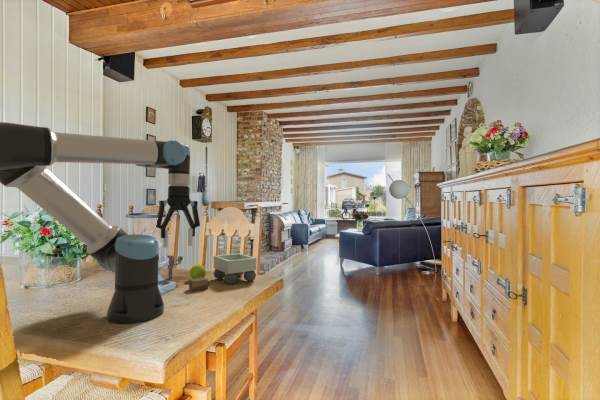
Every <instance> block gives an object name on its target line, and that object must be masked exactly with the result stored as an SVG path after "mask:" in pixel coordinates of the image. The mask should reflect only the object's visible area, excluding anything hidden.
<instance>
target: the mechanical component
mask: <svg viewBox="0 0 600 400" xmlns="http://www.w3.org/2000/svg"><path fill="white" fill-rule="evenodd" d="M167 257H168V258H169V265H167V267H166V268H167V269H168V274H167V275H168V278H167V279H168V280H172V279H173V269H174V267H175V266H178V265H180V264H181V263H182V261H183V258H184V257H183V256H181V255H179V256H178V257H177V259H176V257H175V255H168V254H167ZM176 262H177V263H176Z"/></svg>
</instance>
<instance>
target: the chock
mask: <svg viewBox="0 0 600 400" xmlns="http://www.w3.org/2000/svg"><path fill="white" fill-rule="evenodd" d="M188 290H189V291H191V292H192V293H193V292H194V293H195V292H199V291H200V292H201V291H204V290H205V291H206V290H209V279H208V278H206V277H205V276H204V277H203V278H196V279H192V278H191V279H189V280H188Z"/></svg>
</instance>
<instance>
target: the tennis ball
mask: <svg viewBox="0 0 600 400" xmlns="http://www.w3.org/2000/svg"><path fill="white" fill-rule="evenodd" d="M206 273H207V270H206V268H205V266H204V265H202V264H194V265H193V266H192V267H191V268H190V270H189V276H190V277H191V279H196V278H203V277H205V276H206Z"/></svg>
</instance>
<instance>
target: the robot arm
mask: <svg viewBox="0 0 600 400" xmlns="http://www.w3.org/2000/svg"><path fill="white" fill-rule="evenodd" d="M190 150H191V149H190V146H189V145H187V144H185V143H182V142H180V141H179V140H167V141H163V140H153V139H152V140H150V139H139V138H138V139H137V138H127V137H116V136H102V135H92V134H91V135H90V134H81V133H80V134H79V133H78V134H77V133H67V132H55V131H53V130H52V129H51V128H50V127H47V126H45V127H44V126H36V125H28V124H19V123H12V122H5V121H4V122H1V121H0V183H1V184H2V185H3V187H7V188H16V189H18V190H19V191H20V192H21V193H23V194H24V195H25V196H26V197H27V198H29V199H30V200H31V201H32V202H34V203H35V204H36V205H37V206H39V208H41V209H42V210H44V211H45V212H46V213H47V214H48V215H50V216H51V217H52V218H53V219H55V221H56V222H58V223H59V224H60V225H61V226H62V227H64V228H65V229H66V230H67V231H69V232H70V233H71V234H73V235H74V236H75V237H76V238H77V239H79V241H81V242H82V243H83V244H84V245H86V253H87V254H88V255H89V256H91V257H92V258H93V259H95V261H97V263H98V265H99V266H100V267H101V268H103V269H104V270H106V271H109V272H113V273H114V291H113V294H112V297H111V300H110V303H109V305H108V307H107V311H106V312H107V313H106V314H107V316H106V317H107V320H108V321H109V322H111V323H116V324H131V323H132V324H133V323H134V324H135V323H140V322H144V321H145V322H146V321H148V320H152V319H155V318H157V317H160V316H161V315H162V314H163V313H164V311H165V308H164V307H165V304H164V300H163V297H162V294H161V291H160V288H159V263H160V260H159V256H160V254H159V253H160V247H159V240H158V239H157V238H156V237H154V236H153V235H149V234H146V235H145V234H135V233H134V234H133V233H132V234H128V233H127V232H125V230H123V228H121V227H120V226H119V225H110V223H108V222H107V221H106V220H105V219H104V218H102V217H101V216H100V215H99V214H98V213H97V212H96V211H95V210H94V209H93V208H92V207H90V205H88V204H87V203H86V202H85V201H84V200H83V199H81V198H80V196H78V195H77V194H76V193H75V192H74V191H73V190H72V189H71V188H70V187H69V186H67V185H66V184H65V183H64V182H63V181H62V180H61V179H60V178H59V177H58V176H56V175H55V174H54V173H53V172H52V171H51V170H50V169H49V168H48V167H50V166H52V165H53V164H55V163H76V164H77V163H79V164H80V163H81V164H112V165H113V164H115V165H116V164H118V165H119V164H121V165H122V164H123V165H125V164H126V165H135V166H137V167H143V168H151V169H152V168H153V169H164V170H165V169H166V170H168V174H167V175H168V180H167V182H168V183H167V184H168V185H169V186H168V187H167V199H166V200H158V206H159V207H158V212H157V216H158V215H159V216H158V220H157V219H156V220H157V225H156V224H155V225H156V227H155V228H157V229H160V238H161V239H163V242H162V243H163V244H162V245H163V248H167V249H168V245H169V244H168V243H169V239H168V238H169V230H168V229H167V227H168V225H169V222H170V220H171V219H172V216H173V214H174V213H175V211H182V212H183V214H184V217H185V219H186V220H187V224H188V225H189V227H188V228H187V230H188V231H187V246H190V247H192V246H193V237H195V235H196V232H195V231H196V228H198V227H200V226H201V223H200V217H199V211H198V203H199V202H198V201H197V200H191V199H190V193H191V192H190V186H189V185H190V183H191V182H190V181H191V180H190V179H191V178H190V174H191V172H190V171H191V169H190V168H191V151H190ZM47 166H48V167H47ZM167 205H168V206H169V207H168V210H167V213H166V215H165V217H163V216H164V211H165V207H166V206H167ZM189 205H190V206H191V212H192V215H191V214H190V210H189V208H188V207H189ZM192 216H193V218H192ZM163 218H164V219H163Z"/></svg>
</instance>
